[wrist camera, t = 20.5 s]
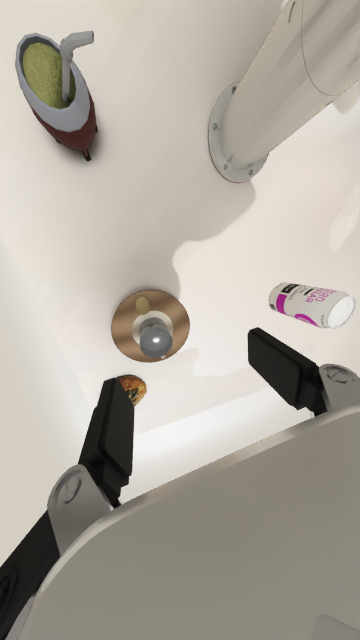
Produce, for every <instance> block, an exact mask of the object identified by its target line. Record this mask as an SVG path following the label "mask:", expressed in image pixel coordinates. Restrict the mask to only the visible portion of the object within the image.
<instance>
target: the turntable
mask: <svg viewBox="0 0 360 640" xmlns="http://www.w3.org/2000/svg"><path fill="white" fill-rule="evenodd" d="M152 317H156V318H160V319H162V320H163V321H164V322H165V324H166V326H167V328H168V330H169V332H170V335H171V337H172V340H173V344H172V347H171V349H170V351H169V352H168V353H167V354H165V355H164V356H161V357H157V358H152V357H148V356H146V355H145V354H144V353H143V352H142V351H141V348H140V335H139V329H140V326H141V324H142V322H143V321H145V320H146V319H148V318H152ZM189 329H190V322H189V317H188V314H187V311H186V310H185V308H184V306H183V305H182V304H181V303H180V302H179V301H178V300H177V299H176V298H175V297H173V296H172V295H170V294H168V293H166V292H162V291H158V290H145V291H140V292H137V293H135V294H133V295H131V296H129V297H128V298H126V299H125V300H124V301H123V302H122V303H121V304H120V306H119V307H118V308H117V310H116V312H115V315H114V317H113V320H112V325H111V332H112V338H113V341H114V343H115V345H116V346H117V348H118V349H119V350H120V351H121V352H122V353H123V354H124V355H126V356H127V357H129V358H131V359H133V360H136V361H140V362H157V361H161V360H164V359H167V358H169V357H170V356H172V355H174V354H175V353H176V352H177V351H178V350H179V349H180V348H181V347H182V346H183V345H184V343H185V341H186V339H187V337H188V334H189Z"/></svg>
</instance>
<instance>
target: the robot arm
mask: <svg viewBox="0 0 360 640" xmlns="http://www.w3.org/2000/svg"><path fill="white" fill-rule="evenodd" d="M359 79H360V0H288V2H287V3H286V5H285V7H284V9H283V10H282V12H281V14H280V15H279V17H278V19H277V21H276V22H275V24H274V26H273V27H272V29H271V31H270V32H269V34H268V36H267V38H266V39H265V41H264V43H263V44H262V46H261V48H260V50H259V51H258V53H257V55H256V56H255V58H254V60H253V62H252V63H251V65H250V67H249V68H248V70H247V72H246V73H245V75H244V77H243V79H242V80H241V81H239V82H235V83H233V84H231V85H230V86H228V87H227V88H226V89H225V90H224V91H223V93H222V94H221V96H220V97H219V99H218V101H217V103H216V105H215V107H214V109H213V112H212V115H211V119H210V124H209V147H210V152H211V156H212V159H213V162H214V164H215V166H216V168H217V169H218V171H219V172H220V173H221V175H222V176H224V177H225V178H226V179H228V180H230V181H232V182H237V183H238V182H244V181H247V180H249V179H250V178H252V177H253V176H254V175H255V174H257V173H258V171H259V170H260V169H261V168H262V167H263V165H264V163H265V162H266V159H267V157H268V155H269V152H270V151H272V150H273V149H274V148H275V147H276V146H278V145H279V144H280V143H281V142H282V141H284V140H285V139H286V138H287V137H289V136H290V135H291V134H293V133H294V132H295V131H296V130H297V129H299V128H300V127H301V126H302V125H304V124H305V123H306V122H307V121H309V120H310V119H311V118H312V117H314V116H315V115H316V114H317V113H319V112H320V111H321V110H322V109H324V108H325V107H326V106H327V105H329V104H330V103H331V102H332V101H333V100H335V99H336V98H337V97H338V96H340V95H341V94H342V93H343V92H344V91H346V90H347V89H348V88H349V87H351V86H352V85H353V84H354V83H355V82H357V81H358V80H359ZM248 361H249V364H250V365H251V366H252V367H253V368H254V369H255V370H256V371H257V372H258V373H259V374H260V375H261V376H262V377H263V378H264V379H265V381H266V382H267V383H268V384H269V385H270V386H271V387H273V389H274V390H275V391H276V392H277V393H278V394H279V395H280V396H281V397H282V398H283V399H284V400H285V401H286V402H287V403H288V404H289V405H291V406H294V407H295V408H296V409H297V410H299V409H302V408H304V407H306V408H308V409H309V410H310V413H311V419H309V420H306V421H304V422H301V423H299V424H297V425H295V426H292V427H290V428H288V429H286V430H284V431H281V432H279V433H277V434H274V435H272V436H270V437H267V438H265V439H263V440H261V441H259V442H256V443H254V444H252V445H250V446H247V447H245V448H243V449H241V450H238V451H236V452H234V453H232V454H229V455H228V456H225V457H223V458H221V459H218V460H216V461H214V462H212V463H210V464H208V465H205V466H203V467H201V468H198V469H196V470H194V471H192V472H190V473H188V474H185V475H183V476H181V477H179V478H177V479H174V480H172V481H170V482H168V483H166V484H163V485H161V486H159V487H157V488H155V489H153V490H151V491H149V492H147V493H145V494H142V495H140V496H138V497H136V498H134V499H132V500H130V501H128V502H126V503H125V504H123V502H122V501H121V500H120V498H119V496H120V492H121V487H123V486H126V485H128V484H129V476H131V473H132V459H133V432H134V405H133V403H132V401H131V399H130V398H129V396H128V394H127V393H126V391H125V389H124V388H123V386H122V384H121V383H120V381H119V379H115V378H111V379H108V380H106V381H104V383H103V387H102V390H101V394H100V397H99V401H98V404H97V407H96V408H95V409H94V411H93V414H92V418H91V421H90V424H89V428H88V431H87V435H86V438H85V441H84V445H83V448H82V451H81V455H80V459H79V462H78V465H75V466H73V467H71V468H70V469H68V470H67V471H66V472H65V473H64V474H63V475H62V476H61V477H60V478H59V480H58V481H57V482H56V484H55V486H54V487H53V489H52V491H51V494H50V496H49V499H48V504H47V508H48V509H47V510H46V512H45V513H44V514H43V516H42V517H41V518H40V519H39V520H38V522H37V523H36V524H35V525H34V526H33V528H32V529H31V530H30V531H29V533H28V534H27V535H26V536H25V538H24V539H23V540H22V541H21V543H20V544H19V545H18V546H17V547H16V549H15V550H14V551H13V552H12V554H11V555H10V556H9V558H8V559H7V560H6V561H5V562H4V563H3V565H2V566H1V567H0V640H360V378H359V377H358V376H357V375H356V374H355V373H354V372H352V371H351V370H349V369H347V368H345V367H342V366H340V365H335V364H324V365H322V366H320V367H318V366H317V365H316V363H314V362H313V361H311V360H309V359H308V358H306V357H305V356H303V355H302V354H300V353H298V352H297V351H295V350H294V349H292V348H290V347H289V346H287V345H286V344H284V343H282V342H281V341H279V340H278V339H276V338H274V337H273V336H271V335H270V334H268V333H267V332H265V331H263V330H262V329H260V328H258V327H257V328H254V329H252V330H250V331H249V333H248Z"/></svg>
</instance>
